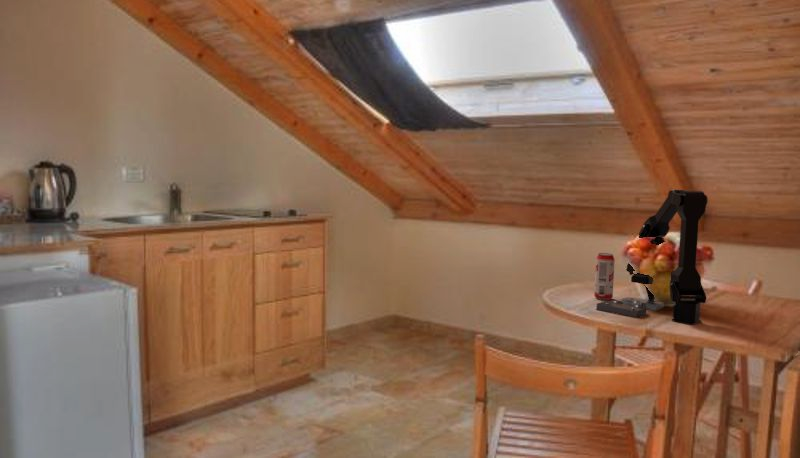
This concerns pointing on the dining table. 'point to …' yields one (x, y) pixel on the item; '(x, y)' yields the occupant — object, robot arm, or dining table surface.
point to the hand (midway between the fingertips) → (651, 301)
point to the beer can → (604, 276)
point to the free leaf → (643, 303)
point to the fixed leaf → (622, 308)
